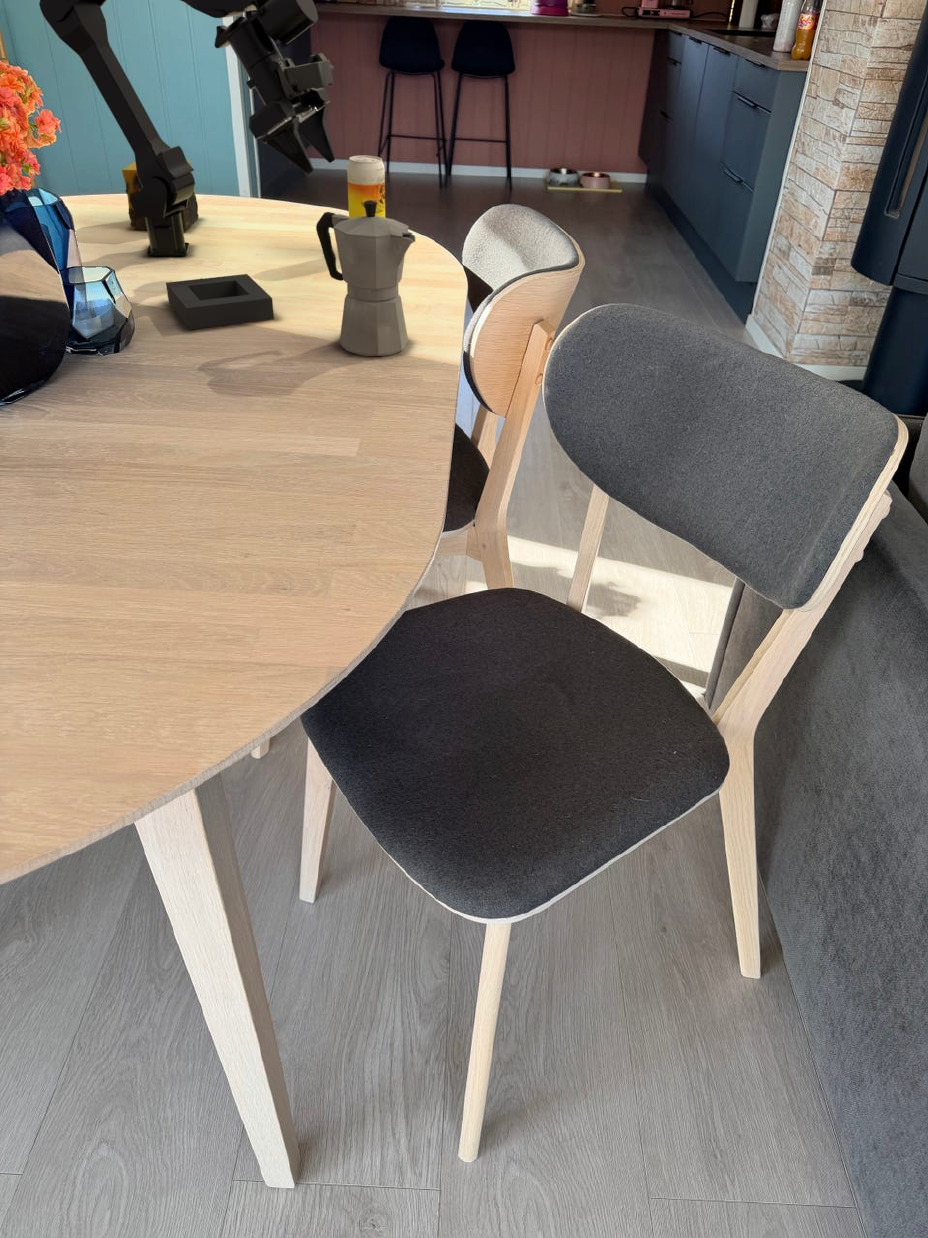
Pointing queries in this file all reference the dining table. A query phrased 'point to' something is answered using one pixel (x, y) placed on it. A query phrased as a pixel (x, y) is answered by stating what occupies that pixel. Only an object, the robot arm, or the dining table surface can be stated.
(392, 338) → the coffeepot
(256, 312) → the socket pad
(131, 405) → the dining table surface
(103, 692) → the dining table surface
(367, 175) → the beer can
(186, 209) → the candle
